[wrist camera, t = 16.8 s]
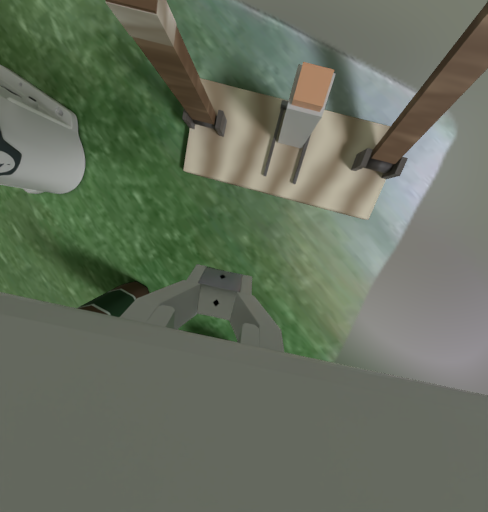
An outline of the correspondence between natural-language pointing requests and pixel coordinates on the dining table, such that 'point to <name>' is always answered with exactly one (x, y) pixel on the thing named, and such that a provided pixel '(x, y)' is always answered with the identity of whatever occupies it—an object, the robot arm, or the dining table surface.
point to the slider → (306, 103)
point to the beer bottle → (116, 299)
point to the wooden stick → (435, 94)
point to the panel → (287, 153)
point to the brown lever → (166, 53)
